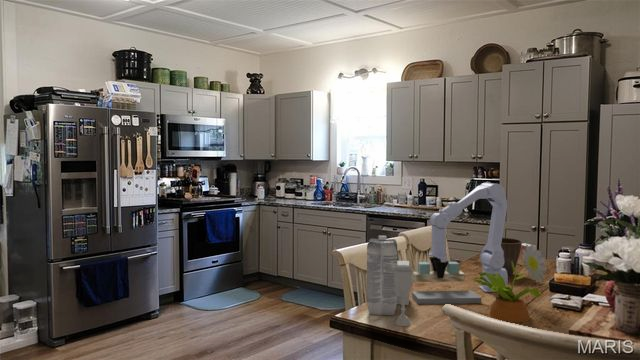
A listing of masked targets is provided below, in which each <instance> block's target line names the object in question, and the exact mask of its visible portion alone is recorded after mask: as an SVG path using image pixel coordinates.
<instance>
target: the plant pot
mask: <svg viewBox="0 0 640 360" xmlns="http://www.w3.org/2000/svg"><path fill="white" fill-rule="evenodd" d="M522 242H523V241H522V240H521V239H517V238H509V237H502V242H501V248H502V250H503V252H504V254H503V257H504V265H503V267H502V268H505V269H506V271H507V274H508V277H511V276H513V274H514V271H513V268H512V263H511V261H512V262H513V264H514V267H515V268H517V265H518V264H517V262H518V258H519V255H520V250H521V245H522Z"/></svg>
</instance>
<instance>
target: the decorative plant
mask: <svg viewBox="0 0 640 360" xmlns="http://www.w3.org/2000/svg"><path fill="white" fill-rule="evenodd" d="M530 245H531V246H530V249H529V247H528V245H526V251H525V250H524V249H523V250H522V251H523V253H524V258H523V260H524V261H525V264H526V267H525V266H522V267H521V268H520V269H519V270H518V271H516V267H514V264H513V262H512V261H511V263H512V268H513V271H514V272H513V274H514V277H513V280H512V283H511V285H509V286H508V287H506V284H505V281H504V279H503V278H502V277H501V276H500V275H499V274H498V273H497V274H493V275H492V274H490V273H486V272H483V271H482V272H481V274H480V275H479V277H475V278H474V280H473V282H475V283H478V285H479V284H480V285H481V286H482V285H487V286H488V287H489V288H491V291H492V293H496V294H497V296H496V298H495V300H494V301H493V303H492V304H491V305H490V308H489V309H490V310H489V312H488V315H489V317H490V318H493V319H494V318H496V319H495V320H497V319H500V320H499V321H501V320H504V321H503V322H506V321H508V323H524V322H527V321H530V318H531V317H530V311H529V308H528V307H527V305H526V304H525V303H524V299H523V298H521V297H522V296H524V295H527V294H528V293H530V294H532V295H533V296H534V297H535V298H536V299H538V298H539V297H541V296H543V293H542V292H539V291H538V288H536V287H534V288H525V289H523V290H522V291H520V292H519V293H517V294H514V292H513V289H514V283H515V280H520V279H523V278H524V277H526V274H521V275H519V276H517V275H518V274H520V272H521V271H522V270H524V268H525V270H526V271H528V274H529V278H532V279H534V280H535V282H536V283H538V282H539V283H540V284H543V281H542V280H544V279H545V278H546V275H545V274H546V272H547V271H548V269H547V267H545V266H546V264H545V262H546V257H544V256H543V254H542V251H541V250H538V249H537V248H536V250H535V252H534V246H535V245H534V244H533V243H531V244H530ZM484 275H486V276H487V277H488V279H489V281H490V282H491V283H490V282H489V281H487V280H486V279H485V278H484V277H483V276H484ZM494 276H496V277H494ZM496 278H497V279H496ZM482 280H484V282H483V281H482ZM485 281H486V282H487V283H486V282H485ZM489 284H490V285H489Z"/></svg>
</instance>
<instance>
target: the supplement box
mask: <svg viewBox="0 0 640 360" xmlns="http://www.w3.org/2000/svg"><path fill="white" fill-rule="evenodd" d="M397 267H408V268H411V267H410V261H409V260H397ZM401 302H402V298H401V297H399V295H398V293H397V305H398V306H399V305H401ZM405 303H406V304H405V306H409V305H410V304H409V303H410V293H409V294H408V296H407V297H405ZM401 306H402V305H401Z"/></svg>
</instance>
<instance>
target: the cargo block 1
mask: <svg viewBox="0 0 640 360" xmlns="http://www.w3.org/2000/svg"><path fill="white" fill-rule="evenodd" d="M430 271H431V264H430V262H428V261H420V262H419V261H418V262H417V272H418V273H419V274H430Z"/></svg>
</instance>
